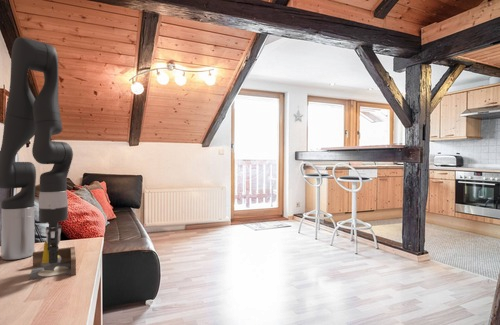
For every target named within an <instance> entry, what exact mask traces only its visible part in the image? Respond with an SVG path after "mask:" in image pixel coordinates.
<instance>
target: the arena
mask: <svg viewBox="0 0 500 325" xmlns="http://www.w3.org/2000/svg"><path fill="white" fill-rule="evenodd" d="M75 248H76V247H75V246H70V247H69V246H67V247H61V248H60V247H59V249H58V255H60V256H61V260H60V262H61V263H60V264H59V265H58V266H56V267H55V268H54V271H48V270H44V268H43V267H42V266H41V264H40V263H41V262H42V258H43V250H38V251H34V252H33V255H32V269H31V272H30V275H29V278H28V281H33V280H35V281H36V280H39V279H45V278H53V277H59V276H64V275H71V276H72V277H73V276H76V275H77V266H76V265H77V258H76V249H75ZM34 267H35V268H34Z"/></svg>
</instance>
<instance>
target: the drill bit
mask: <svg viewBox="0 0 500 325" xmlns="http://www.w3.org/2000/svg"><path fill="white" fill-rule="evenodd" d="M43 245H44V246H43V250H42V251H43V258H42V262H41V263H40V264H41V266H40V267H43V268H44V270H48V271H54V268H55V267H56V266H58V265H59V264H60V263H61V262H60V260H61V256H60V255H58V262H57V263H52V264H50V263H49V251H48V250H47V248H48V244H47V242H46V240H44V244H43Z"/></svg>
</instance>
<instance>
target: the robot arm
mask: <svg viewBox="0 0 500 325" xmlns="http://www.w3.org/2000/svg"><path fill="white" fill-rule="evenodd" d="M58 56H59V55H58V52H57V49H56V48H55V46H54V45H51V44H49V43H47V42H43V41H40V40H35V39H31V38H27V37H24V36H18V37H16V38H15V40H14V42H13V44H12V48H11V56H10V57H11V58H10V59H11V60H10V61H11V62H10V80H9V91H8V96H7V102H6V108H5V114H4V123H3V135H2V141H1V147H0V189H2V190H3V189H5V190H7V189H8V190H9V189H20V190H19V192H18V193H16V194H14V195H12V196H10V197H8V198H4V199H3V200H2V201H1V204H0V206H1V208H0V209H1V210H0V211H1V213H0V215H1V229H0V256H1V259H2V260H7V261H8V260H9V261H10V260H18V259H19V260H20V259H24V258H29V257H32V256H33V252H35V240H36V239H35V198H36V183H37V181H36V180H37V169H36V166H35V164H34V163H33V162H31V161H14V160H15V159H16V156H17V154H18V153H19V151H20V150H21V149H22V148H23V147H24V146H25V145H26V144H28V142H29V141H30V140H31V139H33V143H32V148H31V149H32V150H31V154H32V157H33V158H34V160H35V161H36V162H37V163H39V164H40V165H53V166H52V168H51V169H50V170H49V171H45V172H43V173H41V174H40V175H39V195H38V221H39V223H41V224H46V223H47V224H48V226H46V227H45V235H46V240H45V241H46V242H47V244H48V248H47V250H48V251H49V263H50V264H52V263H57V262H58V249H60V247H59V244H60V242H61V233H62V225H60V224H59V222H60V223H61V222H65V221H67V220H68V218H69V217H68V215H69V214H68V212H69V210H68V207H69V205H68V204H69V202H68V199H69V198H68V193H67V192H68V191H67V190H68V189H67V188H68V187H67V186H68V183H67V180H68V179H67V178H68V174H69V172H70V168H71V164H72V162H73V156H74V152H73V148H72V147H71V145H70V144H69V143H68V142H64V141H51V140H52V136H56V135H59V134H61V133H62V132H63V123H62V117H61V112H60V105H59V104H60V103H59V79H60V78H59V57H58ZM29 70H30V71H34V72H40V73H43V79H44V81H43V85H42V87H41V90H40V91H39V93H38V94H37V96H36V97H35V96H34V94H33V92H32V90H31V88H30V86H29V80H28V71H29Z"/></svg>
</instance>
